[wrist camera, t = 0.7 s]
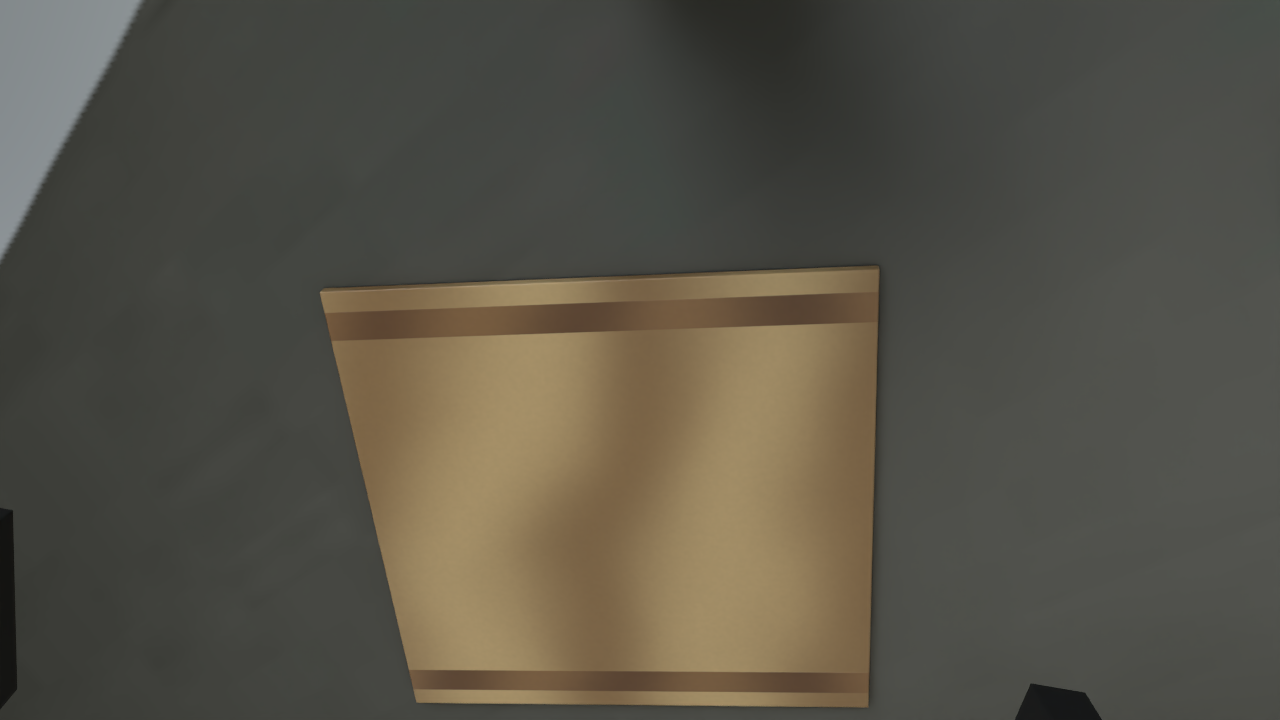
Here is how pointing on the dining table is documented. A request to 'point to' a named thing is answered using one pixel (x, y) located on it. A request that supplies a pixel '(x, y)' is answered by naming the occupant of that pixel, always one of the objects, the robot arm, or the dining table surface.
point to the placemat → (622, 483)
